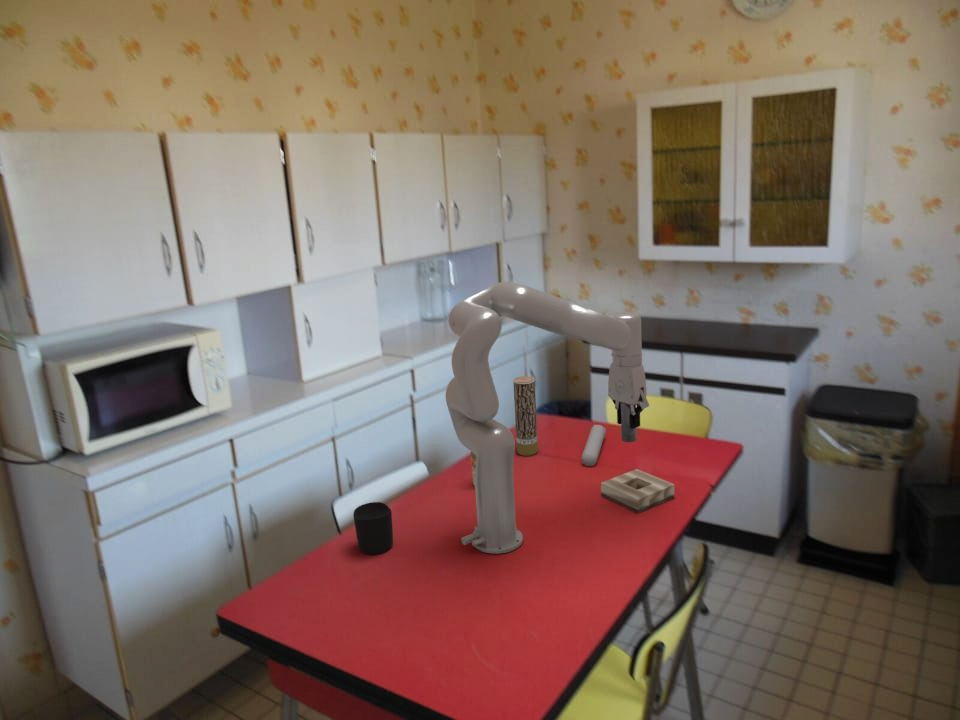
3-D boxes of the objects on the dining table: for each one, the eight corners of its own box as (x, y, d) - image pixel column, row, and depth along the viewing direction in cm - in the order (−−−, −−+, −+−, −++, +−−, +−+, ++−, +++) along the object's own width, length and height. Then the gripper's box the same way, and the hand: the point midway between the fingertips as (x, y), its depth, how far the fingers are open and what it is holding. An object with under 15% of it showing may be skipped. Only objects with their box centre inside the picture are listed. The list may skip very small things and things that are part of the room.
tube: (599, 457, 219) (608, 427, 242) (582, 451, 220) (593, 422, 243) (594, 472, 221) (603, 441, 244) (577, 466, 222) (588, 436, 245)
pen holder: (400, 538, 185) (396, 503, 182) (386, 557, 176) (382, 520, 174) (366, 536, 187) (362, 501, 185) (351, 554, 179) (346, 518, 176)
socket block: (638, 513, 190) (637, 499, 189) (601, 495, 202) (600, 482, 200) (674, 497, 198) (674, 484, 197) (636, 481, 209) (636, 469, 208)
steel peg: (629, 443, 191) (628, 400, 188) (618, 439, 194) (617, 397, 191) (639, 439, 193) (638, 397, 190) (629, 435, 196) (628, 393, 193)
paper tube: (514, 450, 237) (510, 378, 231) (533, 447, 239) (530, 375, 233) (521, 458, 231) (517, 383, 225) (541, 454, 233) (537, 380, 227)
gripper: (594, 356, 193) (596, 421, 197) (640, 368, 179) (641, 437, 184) (614, 351, 197) (616, 414, 201) (661, 362, 183) (662, 429, 188)
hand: (628, 424), depth 193 cm, fingers closed on steel peg, 4 cm apart
